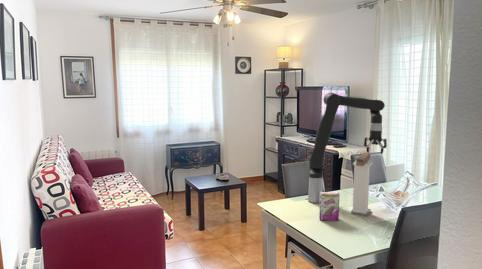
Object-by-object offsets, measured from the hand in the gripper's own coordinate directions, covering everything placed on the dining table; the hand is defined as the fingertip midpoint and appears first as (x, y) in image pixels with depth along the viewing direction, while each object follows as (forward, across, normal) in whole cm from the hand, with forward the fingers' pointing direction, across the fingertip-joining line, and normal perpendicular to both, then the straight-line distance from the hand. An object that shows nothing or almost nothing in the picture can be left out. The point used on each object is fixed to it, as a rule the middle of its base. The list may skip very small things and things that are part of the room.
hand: (374, 153), depth 247 cm
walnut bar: (+1, -2, -26) cm, 26 cm away
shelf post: (+33, -2, -28) cm, 44 cm away
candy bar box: (+34, -16, -49) cm, 62 cm away
